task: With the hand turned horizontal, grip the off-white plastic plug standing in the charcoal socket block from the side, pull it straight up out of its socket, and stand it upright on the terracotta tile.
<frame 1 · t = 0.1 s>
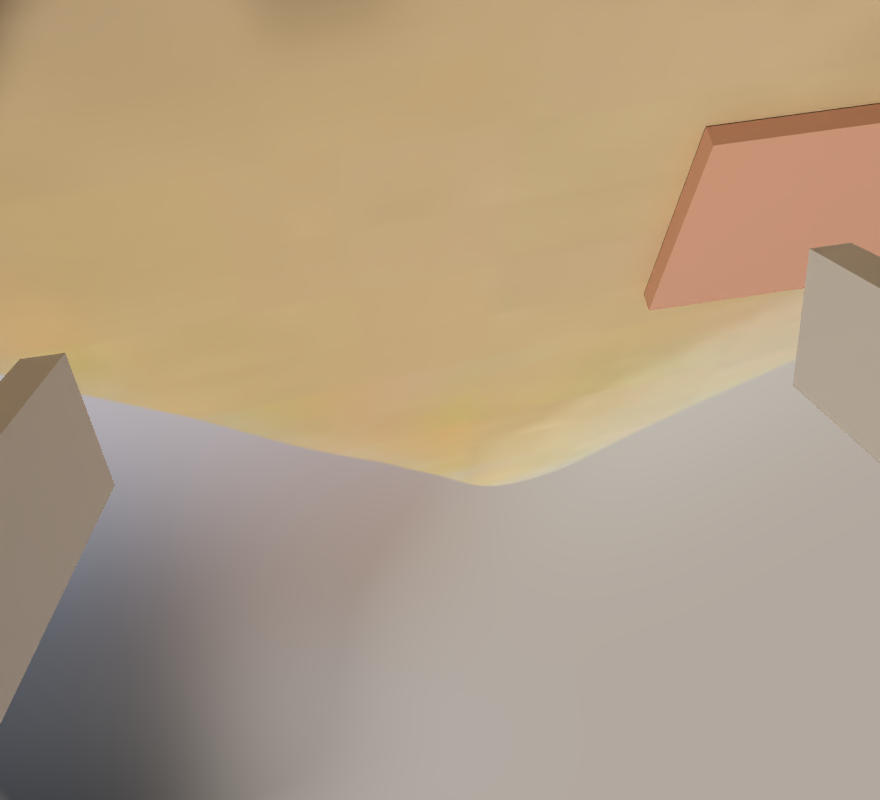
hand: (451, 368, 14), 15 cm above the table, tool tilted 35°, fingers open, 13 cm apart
tile: (794, 206, 37), on the table
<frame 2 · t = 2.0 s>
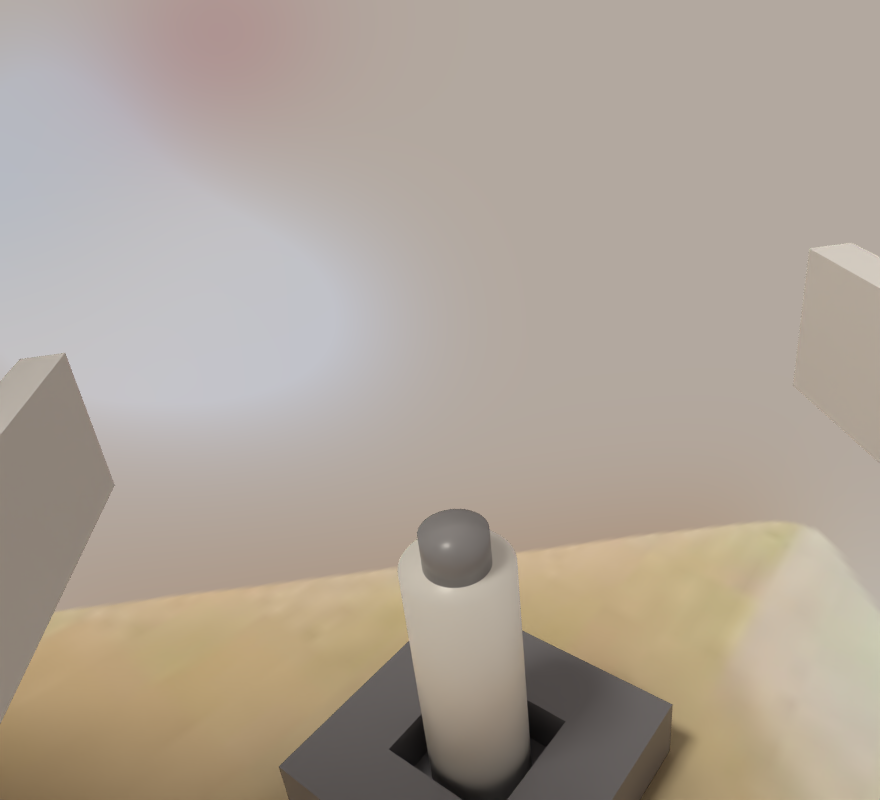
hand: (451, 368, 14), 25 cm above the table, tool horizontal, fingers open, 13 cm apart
plug: (482, 772, 34), resting on socket block
socket block: (482, 780, 35), on the table
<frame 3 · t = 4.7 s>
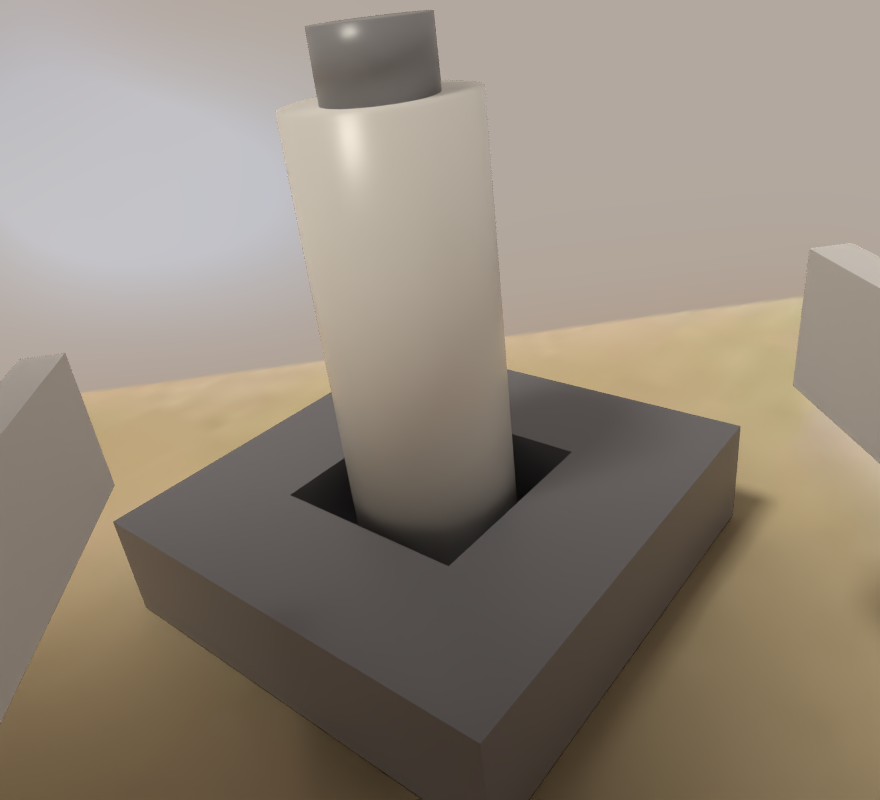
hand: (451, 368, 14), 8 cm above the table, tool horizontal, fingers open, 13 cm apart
plug: (442, 546, 22), resting on socket block
socket block: (444, 560, 22), on the table
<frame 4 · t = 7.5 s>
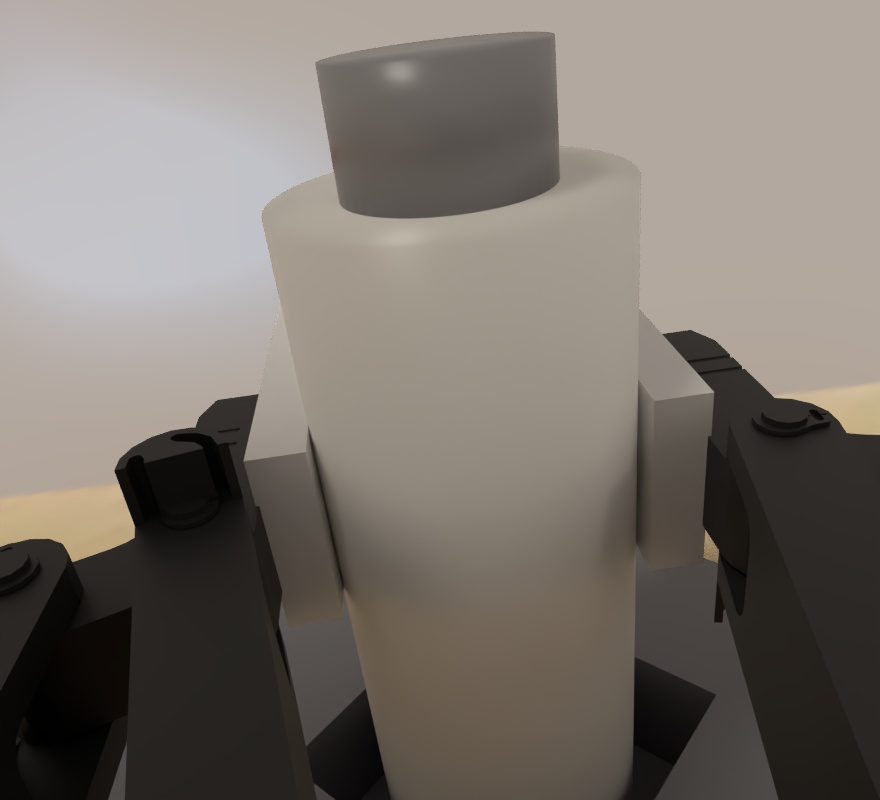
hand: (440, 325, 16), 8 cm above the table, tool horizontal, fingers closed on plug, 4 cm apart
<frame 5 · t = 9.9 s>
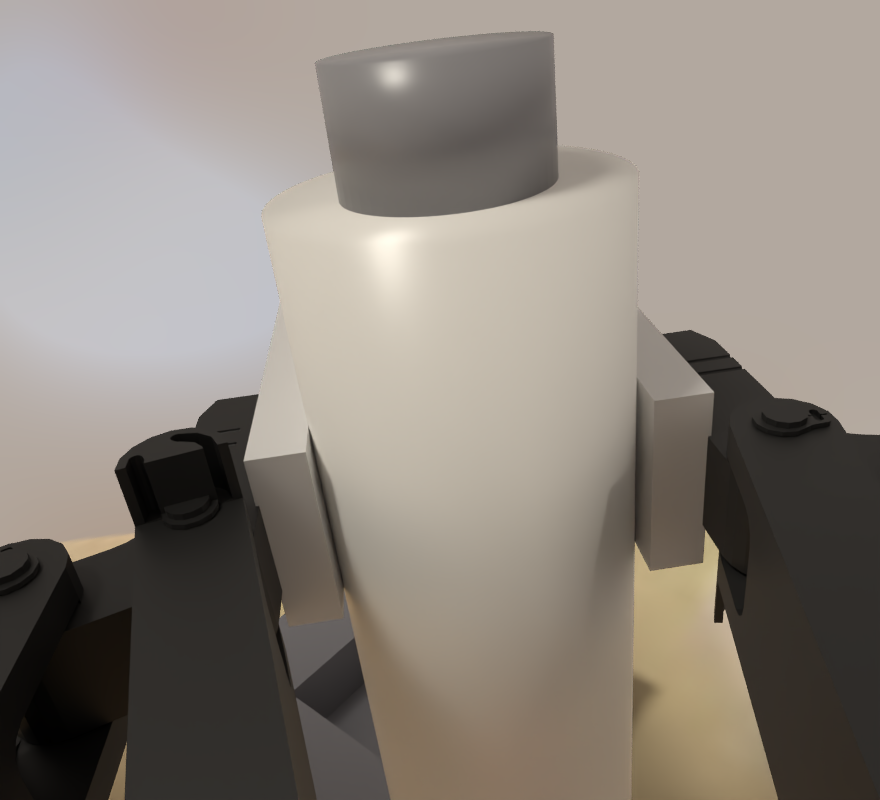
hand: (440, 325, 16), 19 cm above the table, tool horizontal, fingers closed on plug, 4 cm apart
socket block: (406, 733, 29), on the table
when the fingers open (10 cm above the table, at t = 12.5 s): plug stays where it is, resting on tile.
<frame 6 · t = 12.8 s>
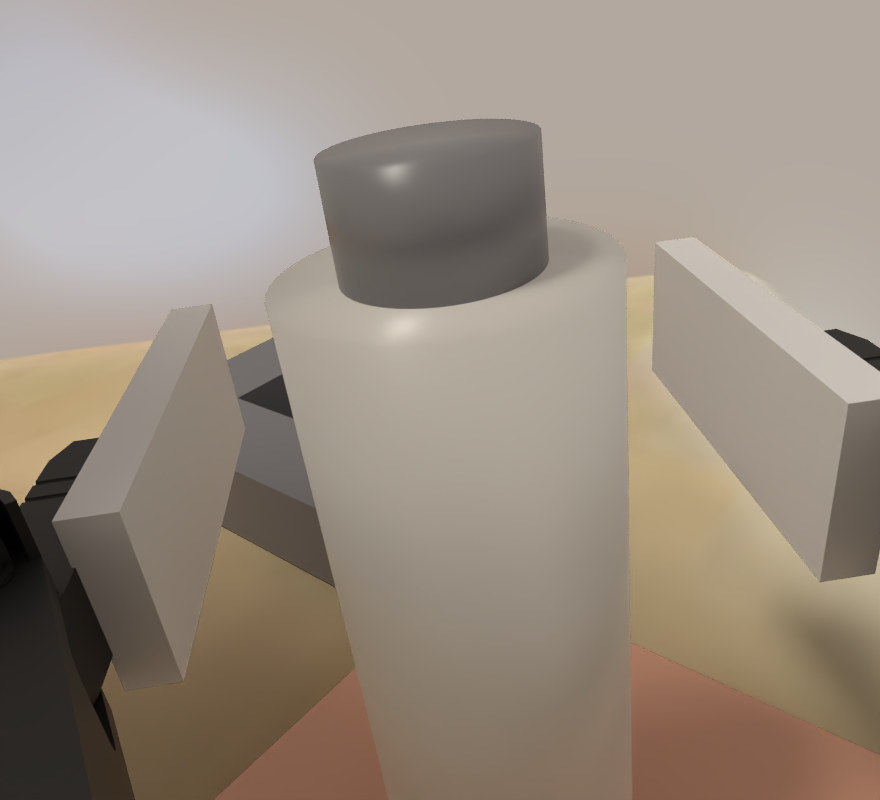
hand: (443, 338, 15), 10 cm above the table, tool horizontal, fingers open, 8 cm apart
socket block: (349, 449, 31), on the table
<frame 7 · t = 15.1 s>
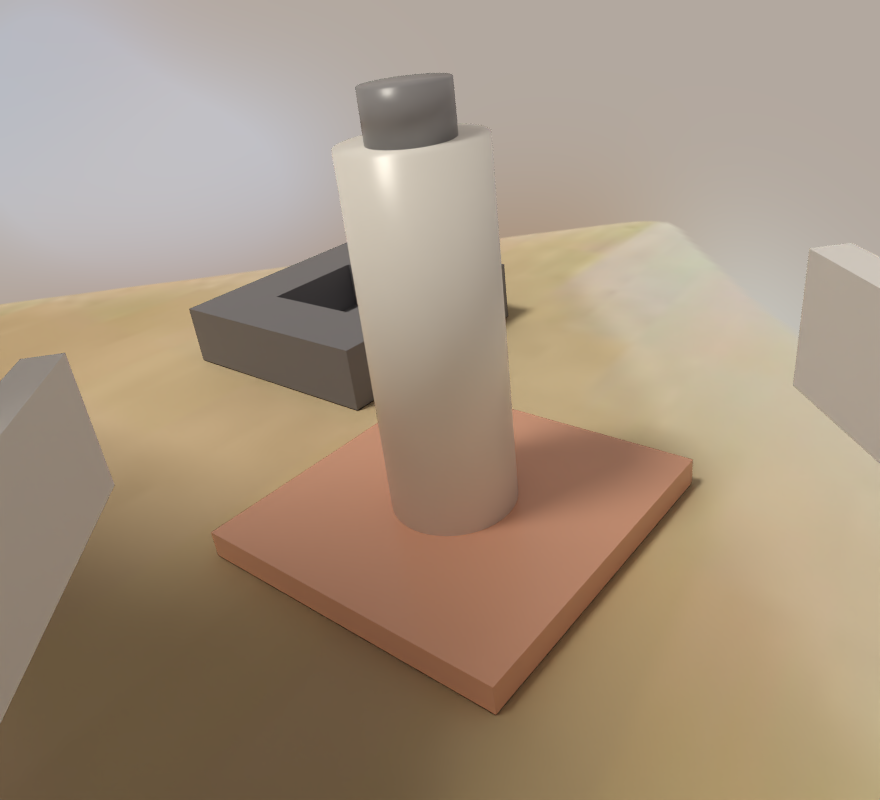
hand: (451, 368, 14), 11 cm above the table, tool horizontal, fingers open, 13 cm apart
tile: (457, 518, 28), on the table
plug: (454, 495, 27), point 1 cm above the table, touching tile
socket block: (356, 337, 43), on the table
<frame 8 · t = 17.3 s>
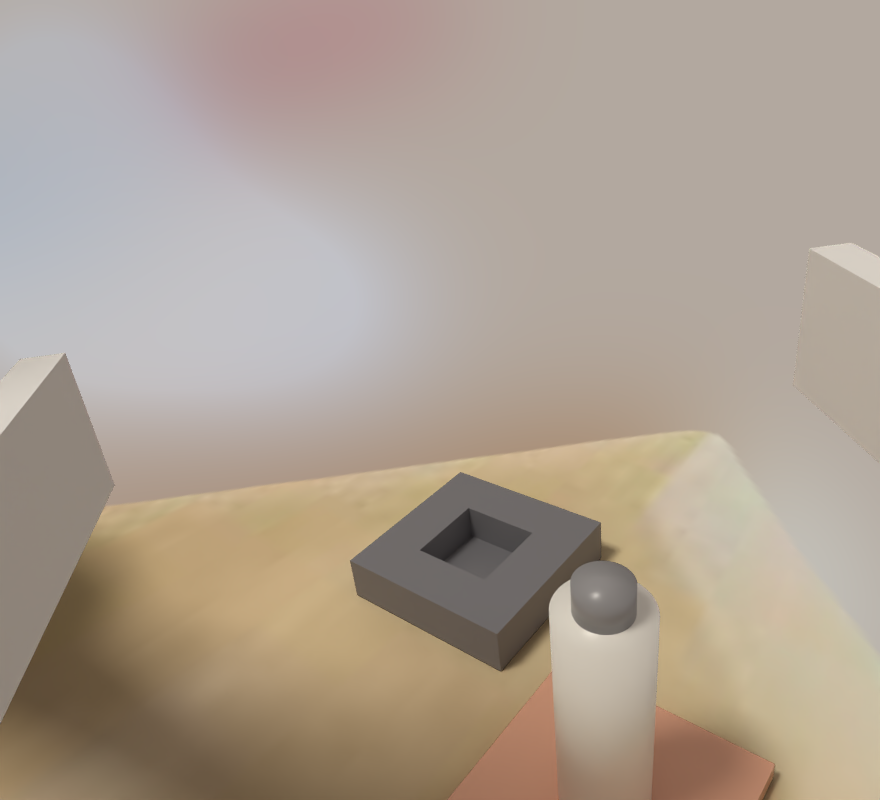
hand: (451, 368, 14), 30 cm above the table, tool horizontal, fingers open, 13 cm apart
plug: (604, 792, 37), point 1 cm above the table, touching tile
socket block: (479, 575, 53), on the table
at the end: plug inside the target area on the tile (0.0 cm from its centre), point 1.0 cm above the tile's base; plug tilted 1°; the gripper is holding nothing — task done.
